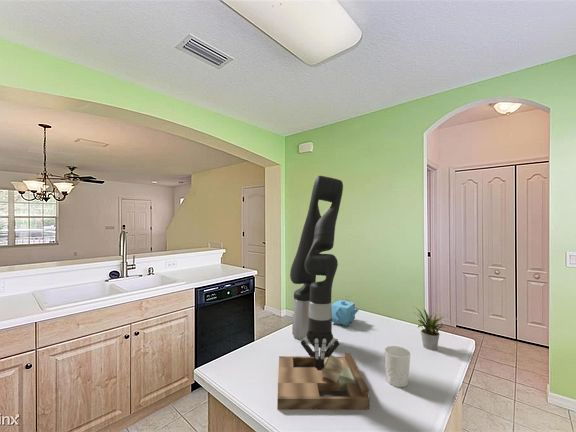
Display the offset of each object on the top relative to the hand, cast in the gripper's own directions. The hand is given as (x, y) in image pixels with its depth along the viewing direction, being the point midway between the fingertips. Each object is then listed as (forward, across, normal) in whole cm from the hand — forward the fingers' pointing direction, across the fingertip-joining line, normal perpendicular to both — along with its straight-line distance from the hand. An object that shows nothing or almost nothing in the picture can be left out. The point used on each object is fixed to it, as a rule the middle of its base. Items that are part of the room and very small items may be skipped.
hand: (319, 369), depth 91 cm
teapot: (+4, -18, -55) cm, 58 cm away
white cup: (+5, -26, -3) cm, 27 cm away
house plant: (+4, -49, -28) cm, 57 cm away
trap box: (+5, 0, -1) cm, 5 cm away
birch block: (+1, -3, +1) cm, 4 cm away
